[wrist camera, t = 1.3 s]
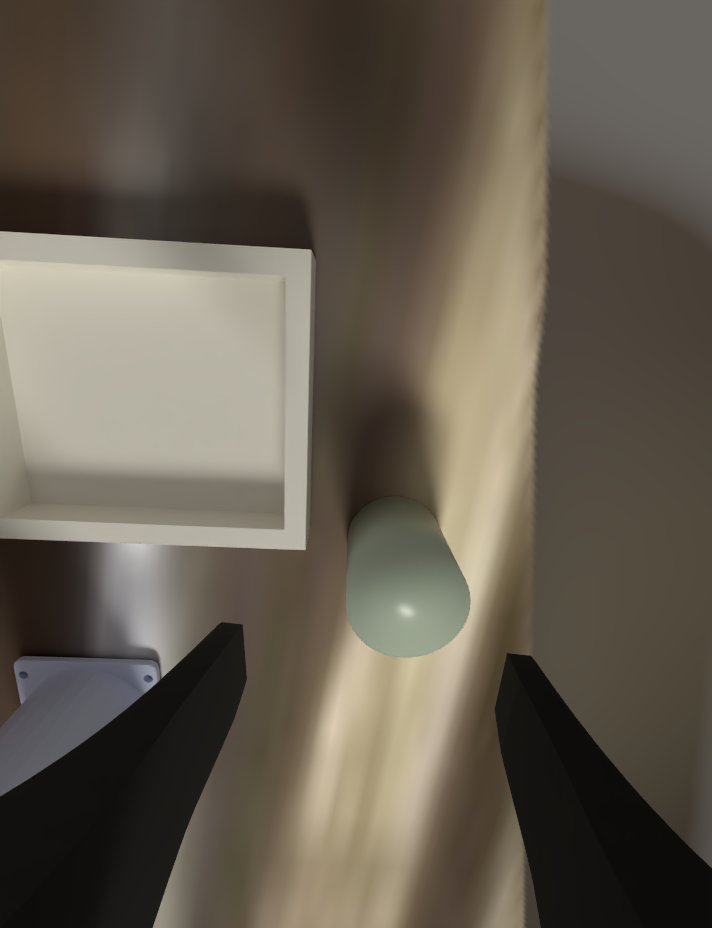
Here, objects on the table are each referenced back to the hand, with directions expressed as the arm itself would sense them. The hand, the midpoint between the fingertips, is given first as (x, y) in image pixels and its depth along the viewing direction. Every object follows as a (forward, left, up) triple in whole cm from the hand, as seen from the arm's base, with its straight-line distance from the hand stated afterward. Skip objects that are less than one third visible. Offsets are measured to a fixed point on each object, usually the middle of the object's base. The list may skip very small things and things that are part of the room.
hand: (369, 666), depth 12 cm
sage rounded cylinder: (-2, -2, -11) cm, 12 cm away
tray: (+5, +10, -11) cm, 16 cm away
